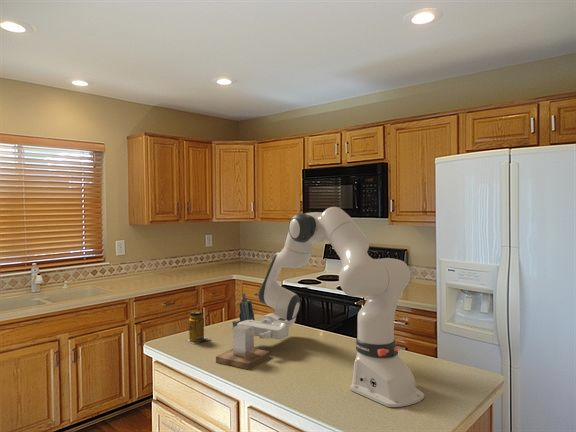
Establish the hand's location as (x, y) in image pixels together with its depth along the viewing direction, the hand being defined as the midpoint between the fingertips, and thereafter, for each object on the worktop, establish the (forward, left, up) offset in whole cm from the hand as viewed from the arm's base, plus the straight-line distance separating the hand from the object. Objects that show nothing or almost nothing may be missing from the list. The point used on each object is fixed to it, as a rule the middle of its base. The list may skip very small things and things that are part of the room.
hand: (250, 334), depth 155 cm
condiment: (+27, +12, -8) cm, 31 cm away
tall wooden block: (-3, +4, -6) cm, 8 cm away
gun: (+31, -10, -8) cm, 34 cm away
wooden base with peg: (-3, +4, -8) cm, 9 cm away
